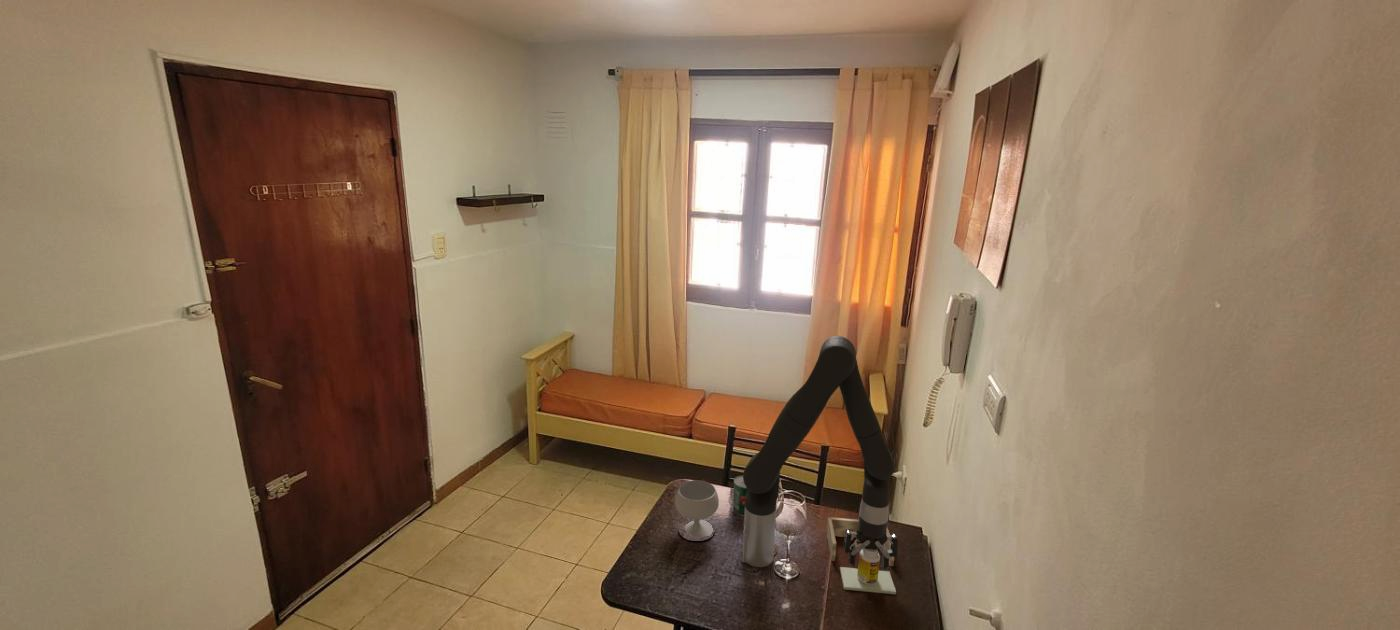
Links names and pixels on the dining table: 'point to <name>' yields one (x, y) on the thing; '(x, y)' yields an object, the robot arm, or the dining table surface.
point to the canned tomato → (739, 495)
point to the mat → (853, 583)
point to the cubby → (839, 528)
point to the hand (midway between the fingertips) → (868, 565)
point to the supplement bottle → (868, 566)
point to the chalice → (697, 506)
